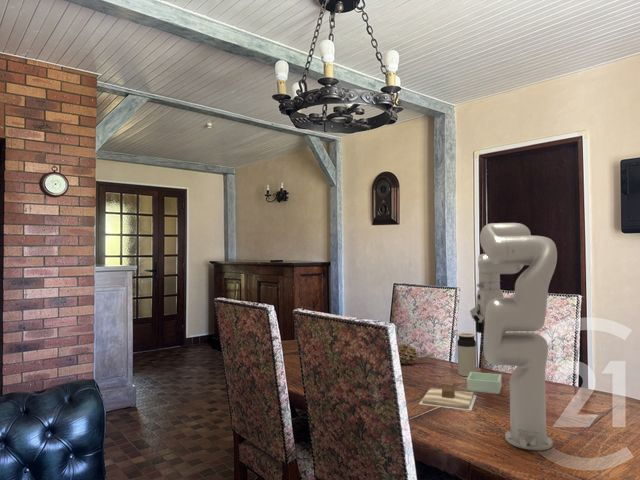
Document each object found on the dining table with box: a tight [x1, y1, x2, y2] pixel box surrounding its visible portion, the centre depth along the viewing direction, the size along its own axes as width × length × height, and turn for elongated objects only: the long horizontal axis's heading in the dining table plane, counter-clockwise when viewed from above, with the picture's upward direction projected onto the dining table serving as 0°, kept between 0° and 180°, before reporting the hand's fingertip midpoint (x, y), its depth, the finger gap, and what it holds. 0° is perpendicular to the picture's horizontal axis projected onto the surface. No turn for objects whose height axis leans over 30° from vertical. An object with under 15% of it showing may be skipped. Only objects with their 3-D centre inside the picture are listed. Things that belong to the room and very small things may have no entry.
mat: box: [418, 389, 477, 412], centre depth 170 cm, size 18×18×1 cm
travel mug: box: [456, 332, 478, 378], centre depth 206 cm, size 8×8×18 cm
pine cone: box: [397, 343, 435, 365], centre depth 226 cm, size 22×10×10 cm, turn 90°
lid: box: [421, 380, 474, 409], centre depth 170 cm, size 16×16×6 cm
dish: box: [466, 371, 502, 395], centre depth 184 cm, size 12×12×5 cm
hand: (490, 331), depth 173 cm, fingers open, 9 cm apart
